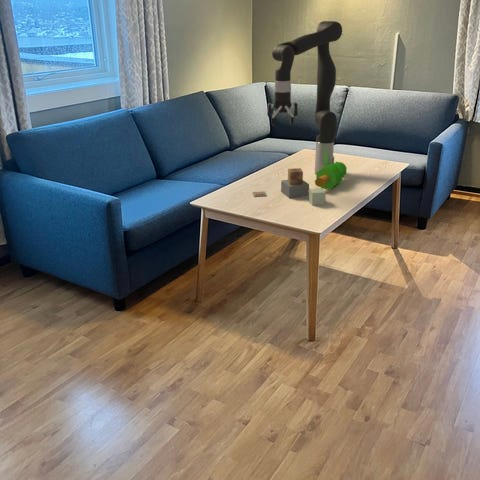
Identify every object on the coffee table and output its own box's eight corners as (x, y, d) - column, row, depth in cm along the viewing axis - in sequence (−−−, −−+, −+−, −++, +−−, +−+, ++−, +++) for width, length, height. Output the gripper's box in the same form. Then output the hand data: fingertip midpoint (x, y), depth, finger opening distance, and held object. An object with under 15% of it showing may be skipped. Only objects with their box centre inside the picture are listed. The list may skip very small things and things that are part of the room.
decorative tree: (314, 166, 251) (340, 150, 273) (306, 186, 257) (332, 169, 280) (334, 178, 247) (359, 161, 269) (325, 198, 254) (350, 180, 276)
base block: (299, 190, 259) (300, 178, 256) (308, 196, 250) (309, 184, 248) (281, 192, 256) (281, 180, 254) (289, 198, 247) (289, 186, 245)
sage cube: (321, 200, 244) (322, 188, 242) (325, 204, 239) (325, 192, 236) (308, 201, 243) (309, 188, 241) (312, 205, 238) (312, 193, 235)
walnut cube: (300, 180, 253) (300, 168, 251) (302, 184, 248) (302, 171, 245) (287, 180, 253) (288, 168, 250) (289, 184, 247) (290, 172, 245)
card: (264, 192, 256) (264, 190, 256) (266, 196, 251) (266, 194, 250) (252, 192, 255) (252, 191, 255) (254, 196, 250) (254, 195, 250)
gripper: (295, 88, 251) (295, 123, 257) (266, 89, 249) (266, 124, 256) (299, 91, 244) (298, 126, 250) (269, 92, 242) (268, 127, 249)
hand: (282, 125), depth 253 cm, fingers open, 8 cm apart
